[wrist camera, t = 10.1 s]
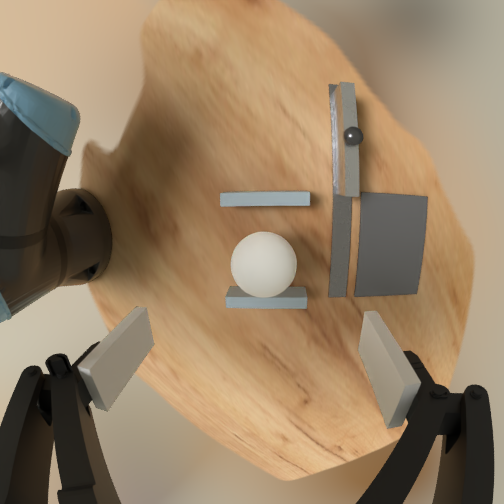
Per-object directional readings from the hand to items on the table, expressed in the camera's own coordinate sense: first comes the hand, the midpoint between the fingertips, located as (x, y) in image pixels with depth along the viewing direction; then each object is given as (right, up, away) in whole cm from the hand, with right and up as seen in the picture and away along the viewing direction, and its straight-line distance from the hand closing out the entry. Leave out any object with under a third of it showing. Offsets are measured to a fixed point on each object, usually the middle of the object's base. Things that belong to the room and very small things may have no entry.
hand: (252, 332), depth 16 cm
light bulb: (+2, +5, +20) cm, 21 cm away
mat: (+19, +5, +18) cm, 27 cm away
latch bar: (+11, +18, +16) cm, 26 cm away
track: (+11, +12, +17) cm, 24 cm away
